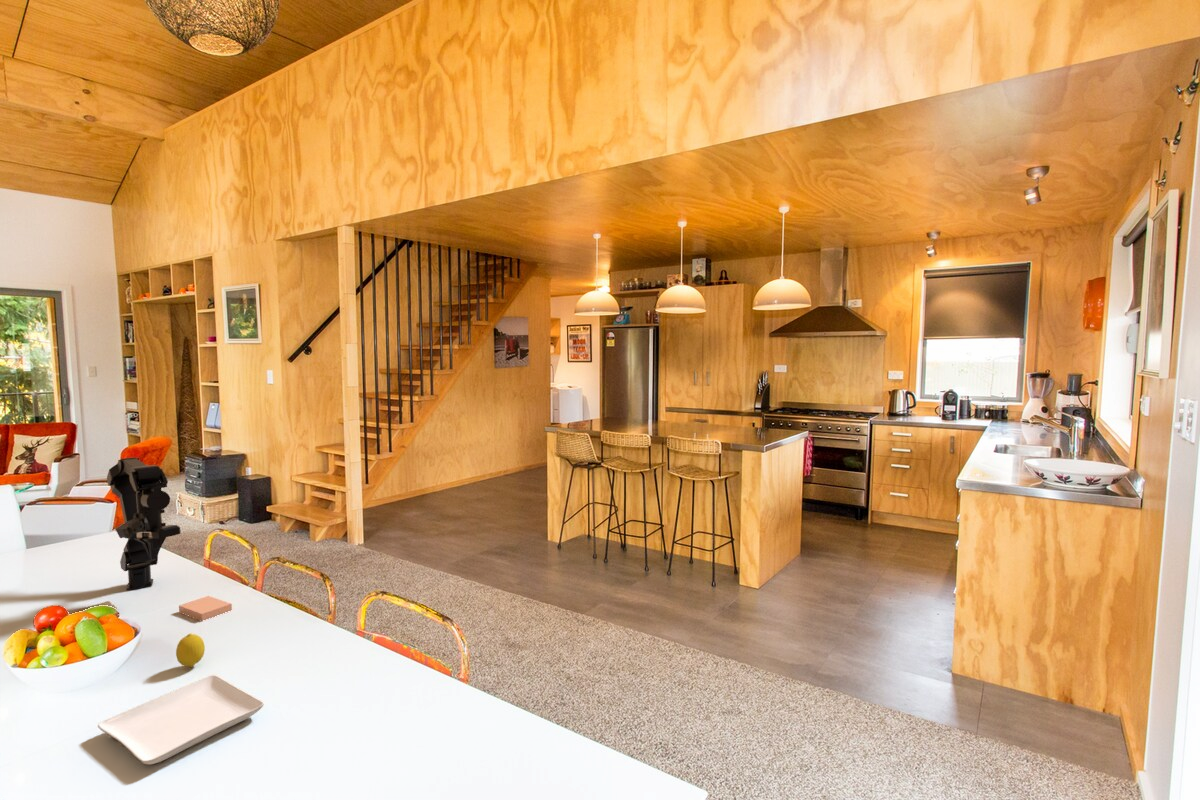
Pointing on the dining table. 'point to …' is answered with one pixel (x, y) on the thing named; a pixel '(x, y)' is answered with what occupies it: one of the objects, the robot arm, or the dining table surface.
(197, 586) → the dining table surface
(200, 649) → the lemon
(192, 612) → the tile
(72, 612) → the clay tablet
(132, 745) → the salad plate
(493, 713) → the dining table surface
